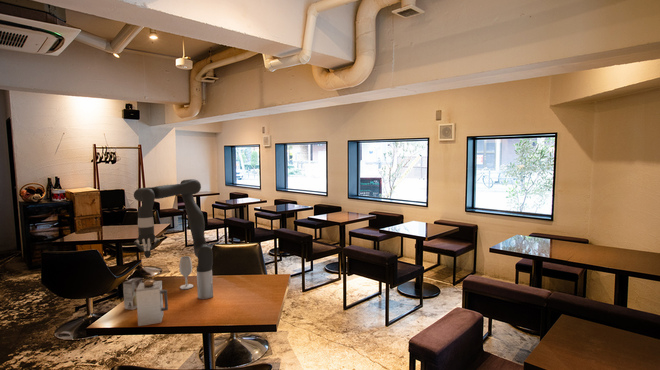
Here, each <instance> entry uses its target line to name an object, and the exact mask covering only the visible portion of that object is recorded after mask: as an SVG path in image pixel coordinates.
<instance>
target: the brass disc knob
mask: <svg viewBox="0 0 660 370" xmlns="http://www.w3.org/2000/svg"><path fill="white" fill-rule="evenodd" d="M154 281H155V279H152V278H151V279H147V280H143V283H144V286H152V285H154Z"/></svg>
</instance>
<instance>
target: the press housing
mask: <svg viewBox="0 0 660 370" xmlns="http://www.w3.org/2000/svg"><path fill="white" fill-rule="evenodd" d="M163 295H164V296H163ZM136 296H137V308H136V309H137V310H136V311H137V312H136V313H137V326H138V327H143V326H149V325H154V324H161V323H162V322H163V317H164V312H165V311H168V310H169V307H168V306H169V304H168V303H169V302H168V289H163V281H162V280H154V285H152V286H144V282H143V283H140V284H139V285H138V287H137V289H136ZM163 297H164V300H163Z"/></svg>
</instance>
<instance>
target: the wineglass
mask: <svg viewBox="0 0 660 370" xmlns="http://www.w3.org/2000/svg"><path fill="white" fill-rule="evenodd" d="M178 267H179V273H180V275H182V276H183V277H184V278H185V279H184V280H185V284H182V285H180V286H179V289H181V290H189V289H192V288H193V287H194V284H192V283H188V277H189V276H190V275H191V273H192V272H193V263H192V258H191V256H189V255H186V256H181V257H180V259H179V265H178Z"/></svg>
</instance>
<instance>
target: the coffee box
mask: <svg viewBox="0 0 660 370" xmlns="http://www.w3.org/2000/svg"><path fill="white" fill-rule="evenodd" d="M140 283H144V278H143V277H133V278H130V279H127V280H125V281H124V282H122V290H123V292H122V293H123V303H124V304H123V306H124V310H136V309H137V296H136V289H137V287H138V285H139V284H140Z"/></svg>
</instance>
